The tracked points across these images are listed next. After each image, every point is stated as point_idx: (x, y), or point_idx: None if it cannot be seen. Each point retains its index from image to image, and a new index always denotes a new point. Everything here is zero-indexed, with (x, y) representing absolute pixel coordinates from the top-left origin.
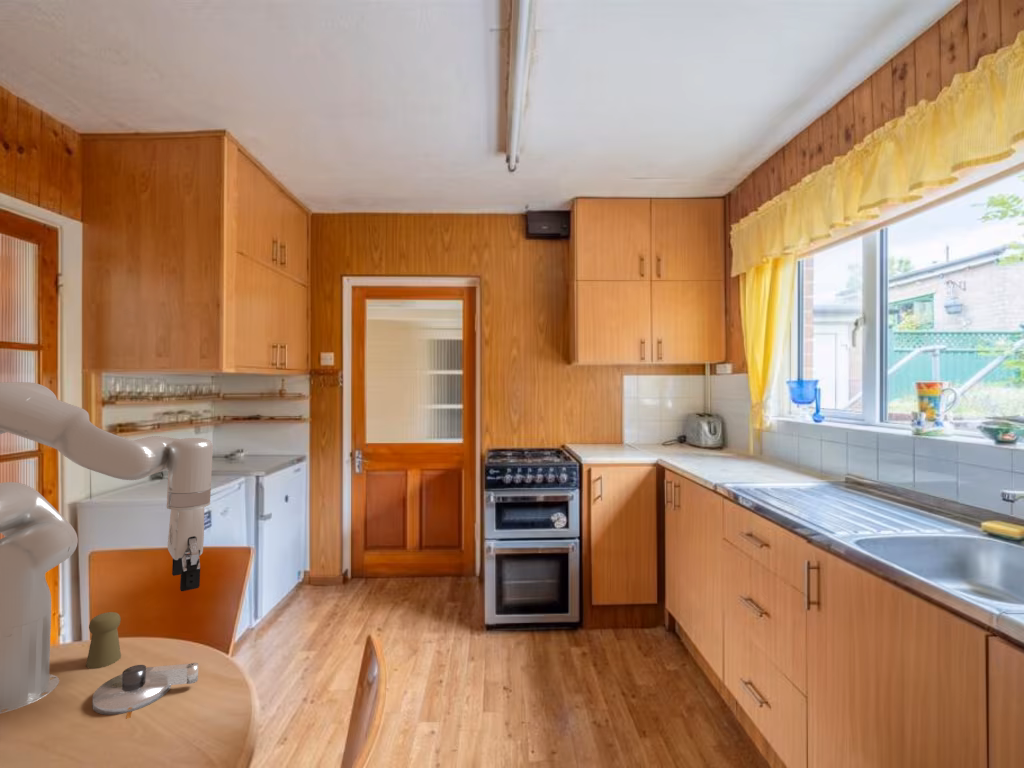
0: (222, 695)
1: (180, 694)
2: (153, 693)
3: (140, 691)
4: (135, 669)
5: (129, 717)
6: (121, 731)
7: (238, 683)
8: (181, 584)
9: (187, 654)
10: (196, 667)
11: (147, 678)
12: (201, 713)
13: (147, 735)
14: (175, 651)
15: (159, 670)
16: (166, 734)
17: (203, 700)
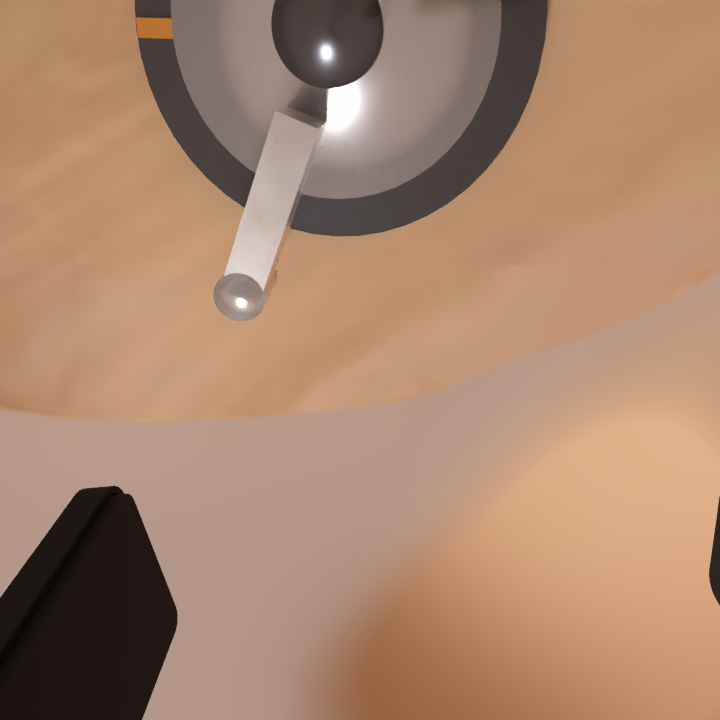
0: (203, 351)
1: None
2: (208, 126)
3: (255, 67)
4: (330, 33)
5: (139, 32)
6: (110, 6)
7: (259, 403)
8: (42, 549)
9: (626, 250)
10: (224, 311)
11: (369, 93)
12: (116, 283)
13: (46, 108)
14: (700, 201)
15: (262, 156)
16: (29, 173)
17: (200, 293)
